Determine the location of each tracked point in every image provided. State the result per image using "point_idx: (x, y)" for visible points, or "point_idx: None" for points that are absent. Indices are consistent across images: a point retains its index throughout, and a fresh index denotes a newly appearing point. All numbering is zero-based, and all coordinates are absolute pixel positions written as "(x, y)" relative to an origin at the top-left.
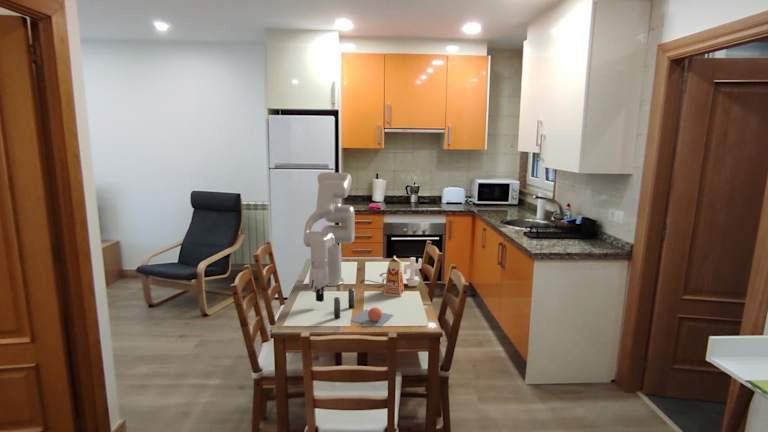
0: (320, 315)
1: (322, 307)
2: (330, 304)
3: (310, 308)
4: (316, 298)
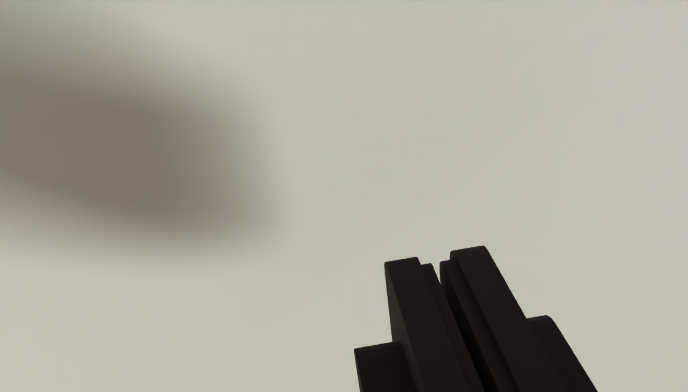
0: None
1: None
2: (621, 280)
3: (219, 114)
4: (400, 313)
